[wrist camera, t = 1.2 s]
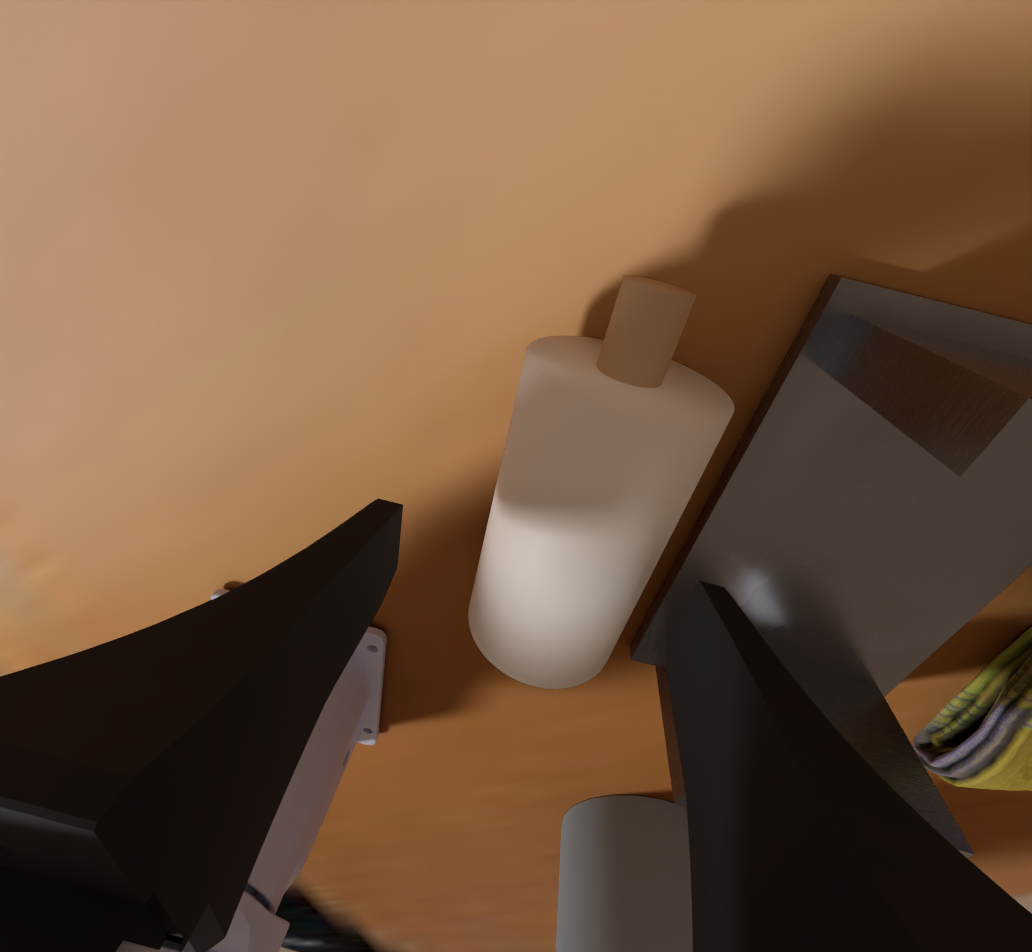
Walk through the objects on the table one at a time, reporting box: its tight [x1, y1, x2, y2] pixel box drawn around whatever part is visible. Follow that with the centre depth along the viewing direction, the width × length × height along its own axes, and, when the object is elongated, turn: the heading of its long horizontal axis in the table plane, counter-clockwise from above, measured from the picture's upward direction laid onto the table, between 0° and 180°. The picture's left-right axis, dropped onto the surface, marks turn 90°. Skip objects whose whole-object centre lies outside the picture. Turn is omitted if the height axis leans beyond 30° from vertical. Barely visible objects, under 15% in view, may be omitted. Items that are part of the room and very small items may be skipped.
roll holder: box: [630, 274, 1032, 858], centre depth 13 cm, size 15×10×6 cm, turn 168°
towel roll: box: [468, 275, 735, 689], centre depth 13 cm, size 13×5×5 cm, turn 168°
